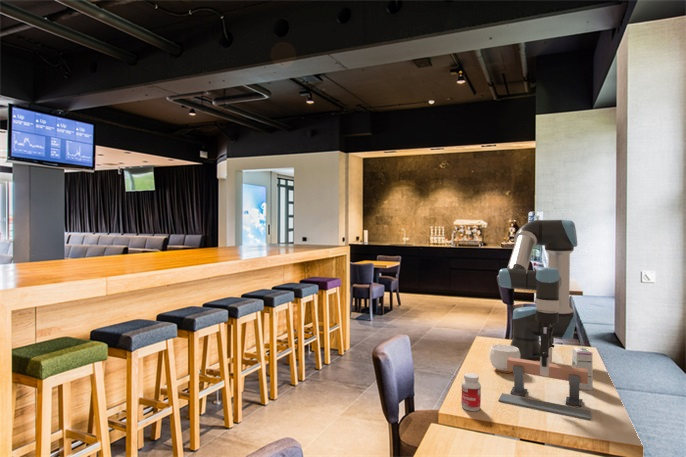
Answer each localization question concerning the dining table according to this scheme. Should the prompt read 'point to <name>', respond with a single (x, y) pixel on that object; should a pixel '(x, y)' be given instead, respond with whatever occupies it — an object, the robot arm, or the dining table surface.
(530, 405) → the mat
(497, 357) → the cup
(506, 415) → the dining table surface
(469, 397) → the pill bottle
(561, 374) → the rail
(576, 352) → the syrup box
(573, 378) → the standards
